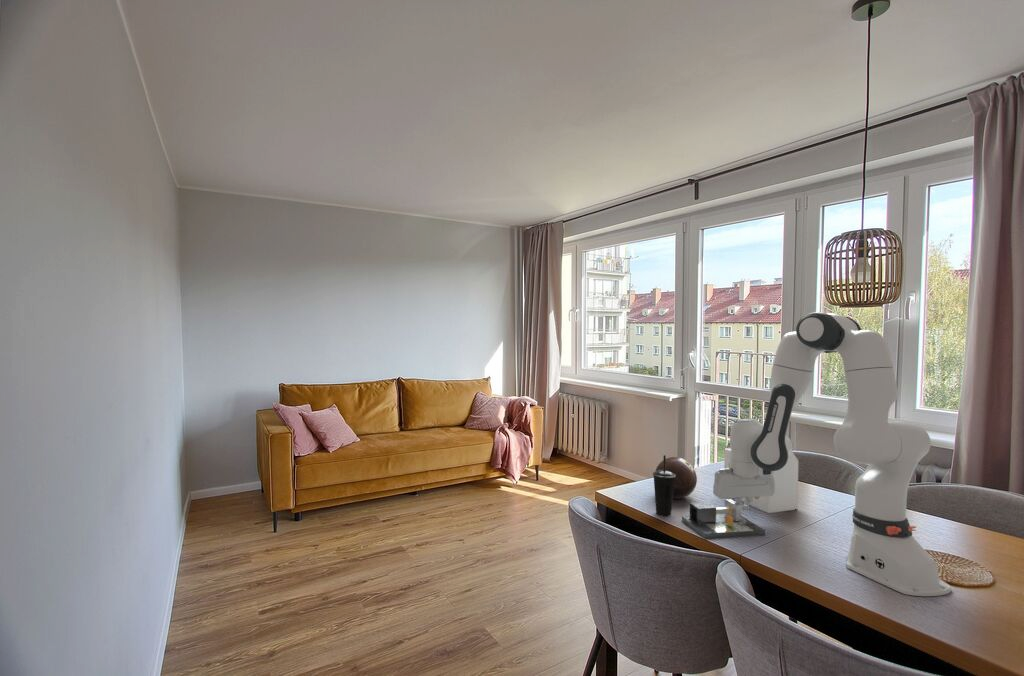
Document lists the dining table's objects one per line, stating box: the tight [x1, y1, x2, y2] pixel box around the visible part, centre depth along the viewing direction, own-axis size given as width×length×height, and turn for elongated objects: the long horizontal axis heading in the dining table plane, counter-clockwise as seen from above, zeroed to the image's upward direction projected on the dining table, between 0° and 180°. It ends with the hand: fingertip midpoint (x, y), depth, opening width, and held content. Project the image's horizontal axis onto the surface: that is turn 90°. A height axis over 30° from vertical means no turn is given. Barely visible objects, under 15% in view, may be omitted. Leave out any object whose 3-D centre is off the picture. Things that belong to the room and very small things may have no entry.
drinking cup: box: [652, 454, 676, 517], centre depth 171 cm, size 8×8×20 cm
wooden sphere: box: [655, 456, 698, 500], centre depth 188 cm, size 15×15×15 cm
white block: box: [716, 498, 746, 524], centre depth 162 cm, size 9×10×5 cm
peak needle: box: [726, 505, 733, 526], centre depth 157 cm, size 2×1×6 cm, turn 9°
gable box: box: [723, 442, 799, 514], centre depth 185 cm, size 22×13×28 cm, turn 18°
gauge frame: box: [681, 501, 766, 540], centre depth 160 cm, size 14×20×6 cm
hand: (743, 509), depth 164 cm, fingers closed
